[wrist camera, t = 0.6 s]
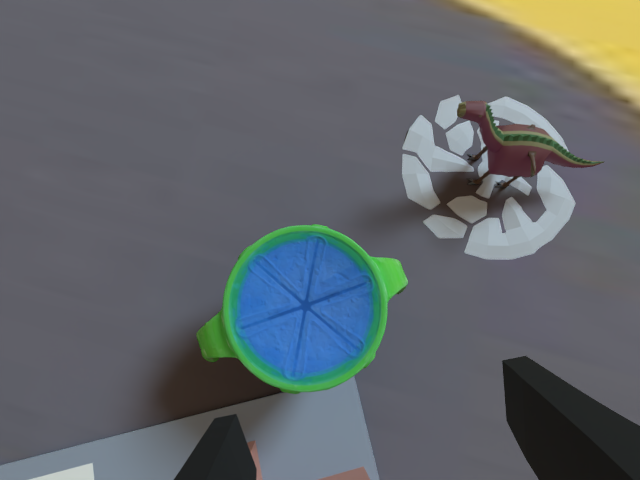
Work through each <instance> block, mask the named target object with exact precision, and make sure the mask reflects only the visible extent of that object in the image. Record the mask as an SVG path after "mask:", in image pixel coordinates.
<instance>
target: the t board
mask: <svg viewBox="0 0 640 480" xmlns="http://www.w3.org/2000/svg"><path fill="white" fill-rule="evenodd" d="M233 414H237V417H238V420H239V422H240V425H241V428H242V430H243V433H244V436H245V439H246V441H247V442H251V441H256V446H257V452H258V457H259V463H260V468H261V473H262V479H263V480H318V479H321V478H325V477H328V476H332V475H335V474H339V473H342V472H346V471H349V470H353V469H356V468H360V467H363V466H364V468H365V470H366V472H367V474H368V476H369V478H370V480H379V476H378V472H377V468H376V464H375V459H374V455H373V451H372V447H371V443H370V439H369V435H368V431H367V427H366V422H365V418H364V414H363V410H362V406H361V402H360V398H359V394H358V390H357V385H356V381H355V377H354V376H353V377H352V378H350V379H349V380H347V381H346V382H344V383H342V384H340V385H338V386H336V387H333V388H331V389H328V390H322V391H316V392H300V393H299V394H290V393H285V392H282V393H278V394H274V395H270V396H267V397H263V398H259V399H255V400H251V401H247V402H243V403H239V404H236V405H232V406H228V407H224V408H220V409H216V410H212V411H208V412H205V413H201V414H197V415H193V416H189V417H185V418H181V419H177V420H174V421H170V422H166V423H162V424H158V425H154V426H150V427H146V428H142V429H139V430H135V431H131V432H127V433H123V434H119V435H115V436H111V437H108V438H104V439H100V440H96V441H92V442H88V443H84V444H80V445H77V446H73V447H69V448H65V449H61V450H57V451H53V452H49V453H46V454H42V455H38V456H34V457H30V458H26V459H22V460H18V461H15V462H11V463H7V464H3V465H0V480H174V478H175V477H176V475H177V474H178V472H179V471H180V470H181V468H182V467H183V465H184V464H185V462H186V461H187V459H188V458H189V456H190V454H191V453H192V451H193V450H194V448H195V447H196V445H197V444H198V442H199V441H200V439H201V438H202V436H203V435H204V433H205V432H206V430H207V429H208V427H209V426H210V424H211V423H212V421H213V420H214V418H218V417H223V416H228V415H233Z"/></svg>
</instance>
